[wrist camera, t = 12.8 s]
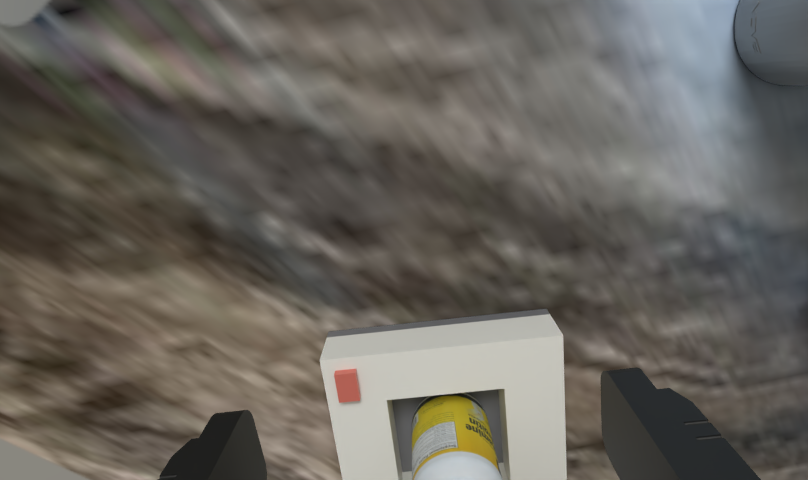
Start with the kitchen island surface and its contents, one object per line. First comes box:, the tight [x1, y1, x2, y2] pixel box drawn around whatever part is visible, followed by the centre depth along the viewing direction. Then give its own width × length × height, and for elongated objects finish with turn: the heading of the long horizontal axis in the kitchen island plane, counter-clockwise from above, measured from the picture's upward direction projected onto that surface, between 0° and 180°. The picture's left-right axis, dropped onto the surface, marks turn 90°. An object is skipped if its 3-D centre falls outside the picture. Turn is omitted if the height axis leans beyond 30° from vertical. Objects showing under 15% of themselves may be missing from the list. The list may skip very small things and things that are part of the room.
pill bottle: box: [412, 393, 502, 480], centre depth 37 cm, size 6×6×12 cm
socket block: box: [320, 309, 567, 480], centre depth 41 cm, size 18×18×5 cm
